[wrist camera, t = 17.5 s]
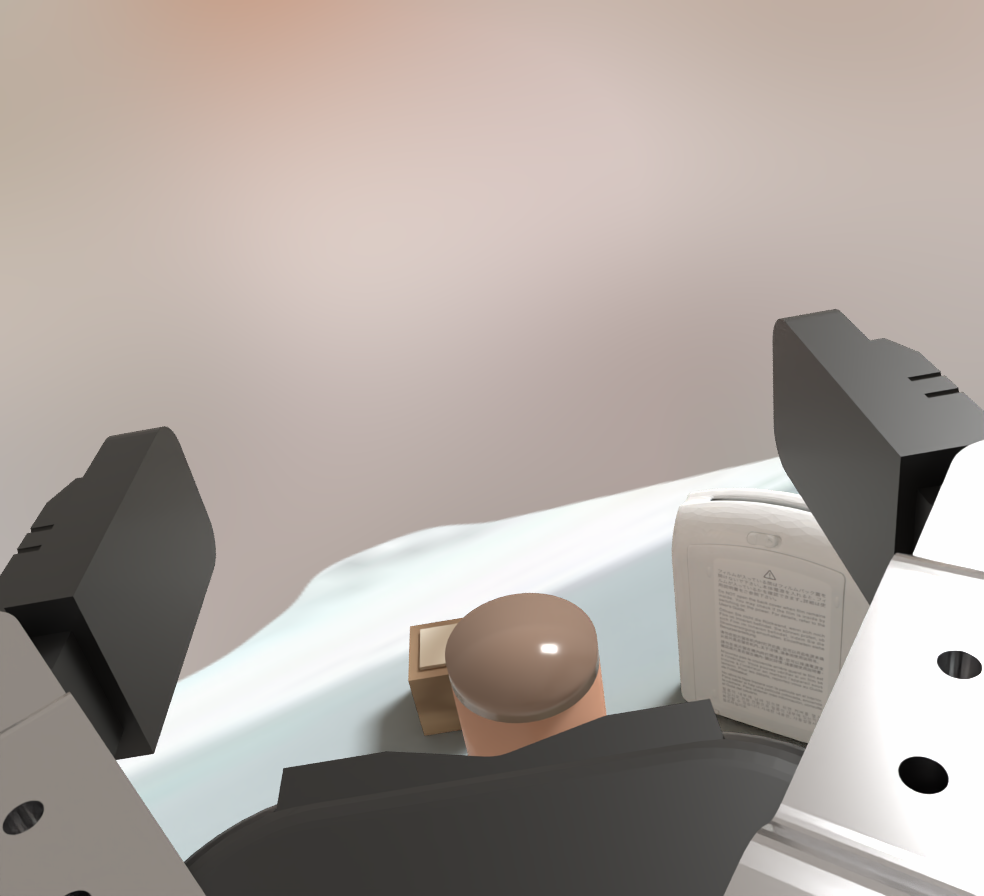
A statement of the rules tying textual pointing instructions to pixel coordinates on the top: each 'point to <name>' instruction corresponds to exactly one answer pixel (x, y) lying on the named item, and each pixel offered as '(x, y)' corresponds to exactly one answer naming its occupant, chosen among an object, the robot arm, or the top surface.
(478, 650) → the canister
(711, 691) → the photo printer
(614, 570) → the top surface
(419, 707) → the letter block
